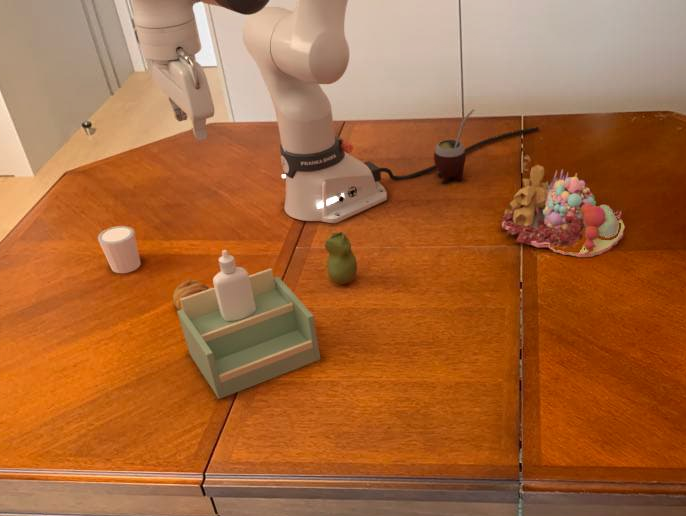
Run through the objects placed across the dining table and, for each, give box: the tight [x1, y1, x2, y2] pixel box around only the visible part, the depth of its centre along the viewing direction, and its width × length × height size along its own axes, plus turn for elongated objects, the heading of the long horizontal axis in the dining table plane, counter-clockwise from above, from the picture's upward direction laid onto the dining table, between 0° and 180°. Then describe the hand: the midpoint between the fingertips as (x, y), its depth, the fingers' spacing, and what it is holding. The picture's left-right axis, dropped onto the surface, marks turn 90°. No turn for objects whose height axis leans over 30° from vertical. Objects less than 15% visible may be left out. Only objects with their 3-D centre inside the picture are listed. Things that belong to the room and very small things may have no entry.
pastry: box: [172, 279, 209, 311], centre depth 146 cm, size 9×7×4 cm
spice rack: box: [176, 267, 321, 400], centre depth 132 cm, size 18×14×11 cm
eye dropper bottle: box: [212, 249, 256, 322], centre depth 129 cm, size 4×6×12 cm
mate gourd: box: [433, 108, 475, 185], centre depth 178 cm, size 8×8×15 cm
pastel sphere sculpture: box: [501, 164, 626, 258], centre depth 162 cm, size 25×24×9 cm
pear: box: [324, 231, 358, 285], centre depth 149 cm, size 6×5×10 cm
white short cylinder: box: [97, 225, 142, 274], centre depth 157 cm, size 7×7×7 cm
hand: (191, 128), depth 131 cm, fingers open, 8 cm apart
